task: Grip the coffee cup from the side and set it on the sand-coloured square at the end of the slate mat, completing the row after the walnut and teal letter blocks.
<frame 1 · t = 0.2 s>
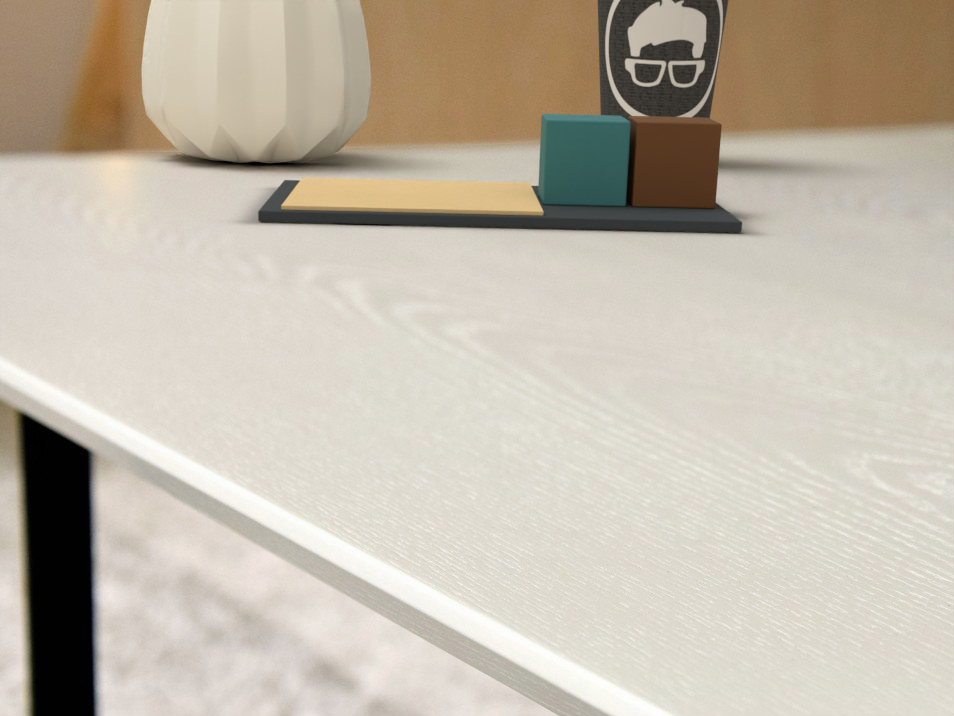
word mat: (495, 209, 80), on the table
vase: (259, 162, 102), on the table
coffee cup: (651, 165, 106), on the table
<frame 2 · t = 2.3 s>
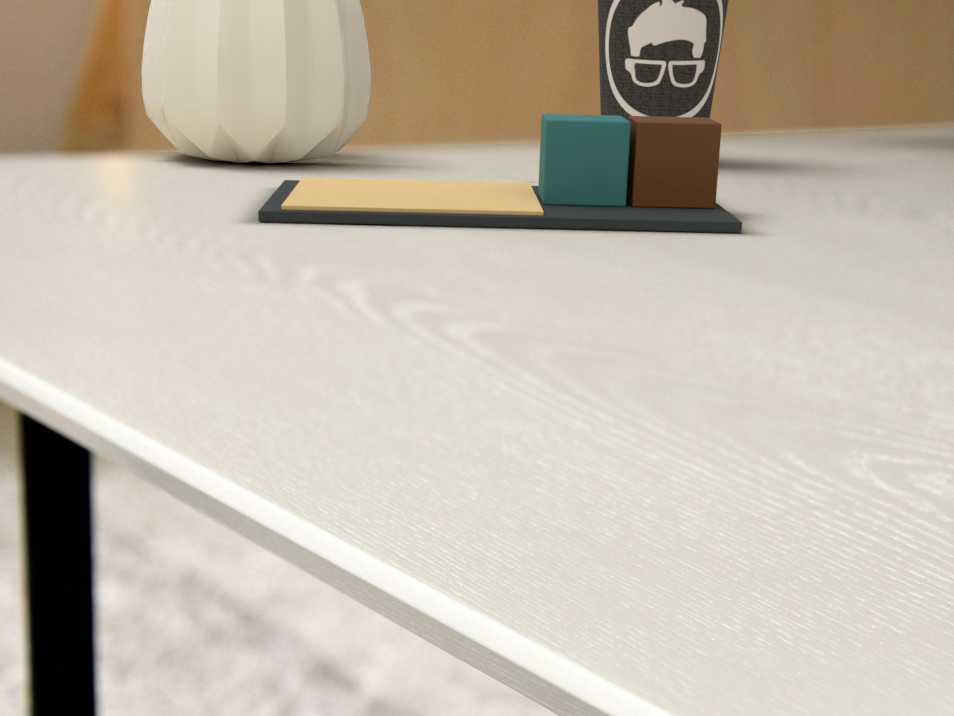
nothing on the table moved.
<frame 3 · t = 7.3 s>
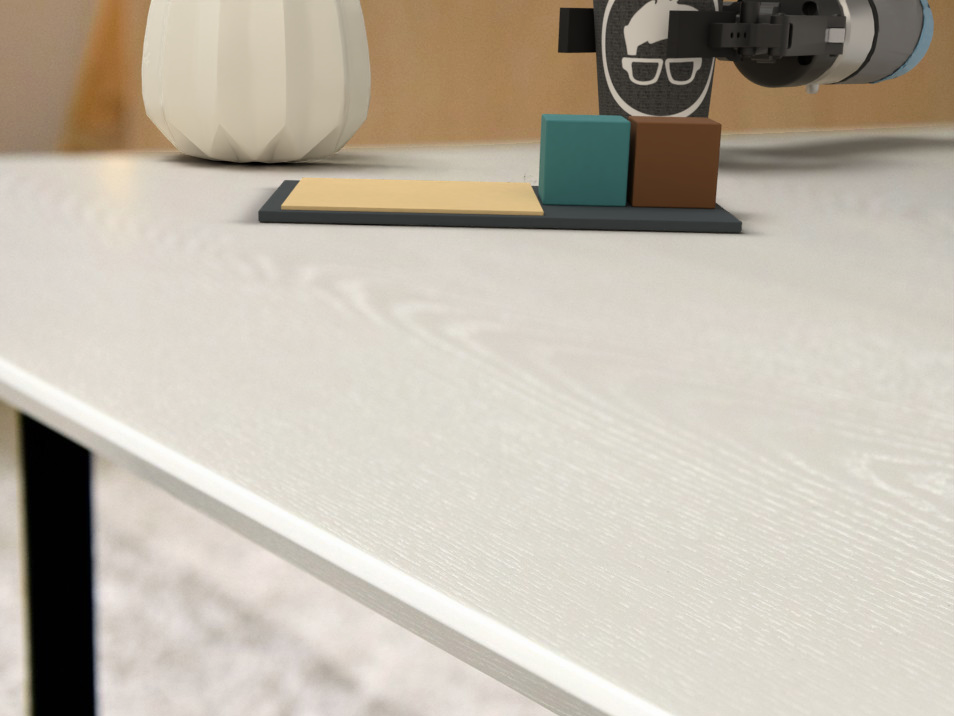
hand: (617, 32, 99), 8 cm above the table, tool horizontal, fingers closed on coffee cup, 7 cm apart
coffee cup: (651, 163, 105), on the table, touching gripper
everything else where it was.
when the fingers open (9 cm above the table, at t = 17.0 s): coffee cup stays where it is, resting on word mat.
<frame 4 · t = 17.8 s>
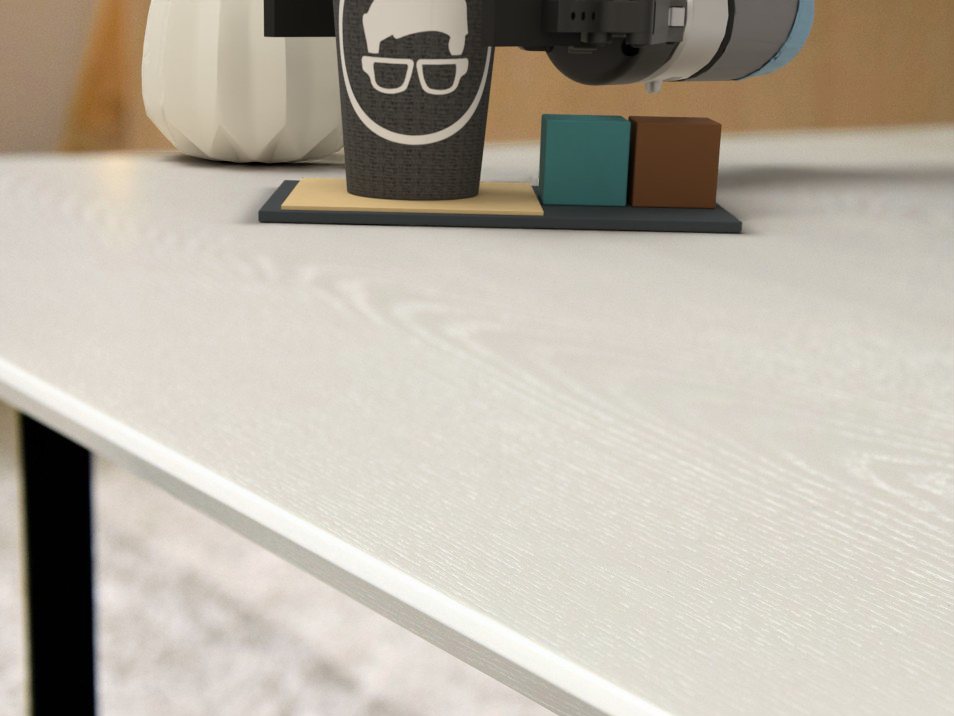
hand: (371, 10, 75), 9 cm above the table, tool horizontal, fingers open, 13 cm apart
coffee cup: (412, 196, 80), point 1 cm above the table, touching word mat
everything else where it was.
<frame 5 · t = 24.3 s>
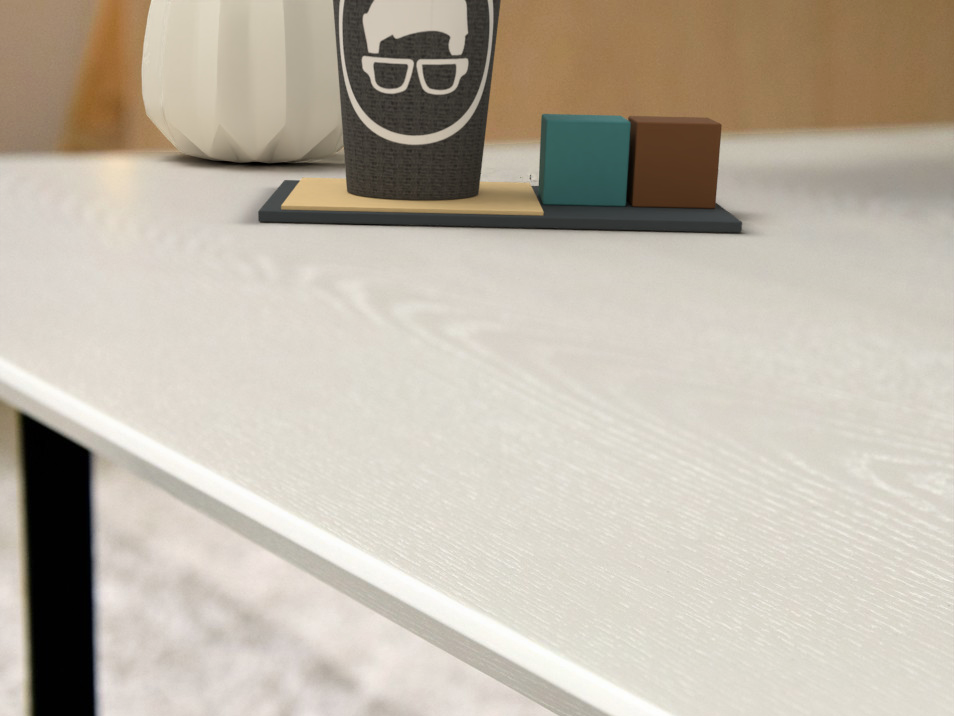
nothing on the table moved.
at the end: coffee cup 0.1 cm from the target spot on the word mat, point 0.5 cm above the word mat's base; coffee cup tilted 0°; the gripper is holding nothing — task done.
